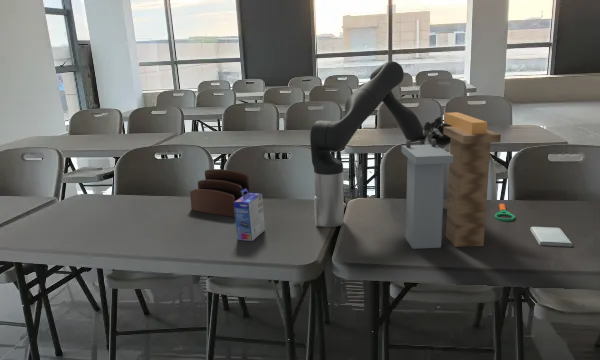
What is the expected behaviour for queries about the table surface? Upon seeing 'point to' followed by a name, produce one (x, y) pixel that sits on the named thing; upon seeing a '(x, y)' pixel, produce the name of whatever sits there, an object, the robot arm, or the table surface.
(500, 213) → the magnifying glass
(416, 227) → the tall gray pegged stand
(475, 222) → the tall walnut stand
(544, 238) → the hard drive
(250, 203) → the ink cartridge box
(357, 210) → the table surface
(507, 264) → the table surface
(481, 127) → the orange bar
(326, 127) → the robot arm
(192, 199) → the letter holder
